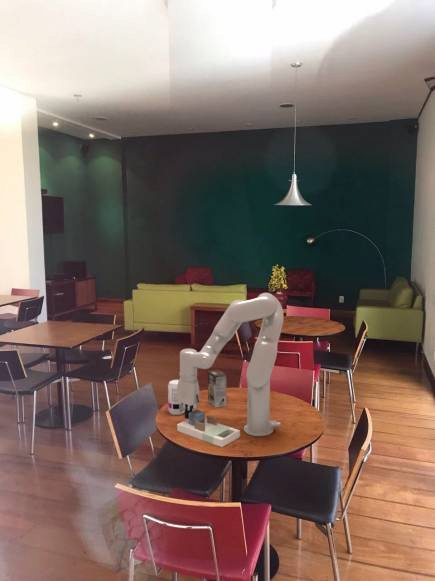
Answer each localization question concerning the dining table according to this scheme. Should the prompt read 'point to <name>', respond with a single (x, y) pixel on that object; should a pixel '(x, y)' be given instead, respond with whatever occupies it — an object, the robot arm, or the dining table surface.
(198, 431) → the board
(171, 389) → the supplement can
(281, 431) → the dining table surface
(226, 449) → the dining table surface
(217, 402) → the coffee box
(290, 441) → the dining table surface
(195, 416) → the block
